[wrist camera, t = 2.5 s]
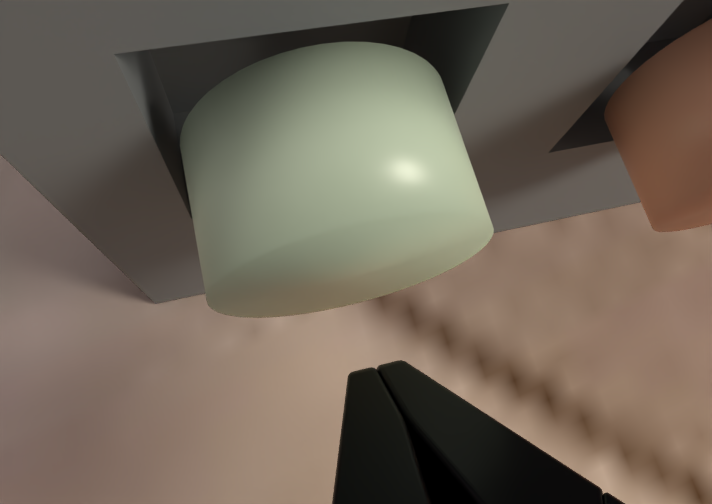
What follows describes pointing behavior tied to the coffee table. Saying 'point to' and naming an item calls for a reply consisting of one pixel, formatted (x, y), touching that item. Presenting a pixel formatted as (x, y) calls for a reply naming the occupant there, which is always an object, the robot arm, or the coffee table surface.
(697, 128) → the terracotta button
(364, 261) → the sage button
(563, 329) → the coffee table surface
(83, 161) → the console
